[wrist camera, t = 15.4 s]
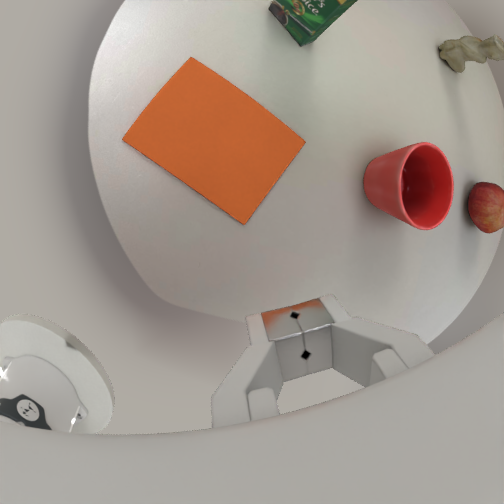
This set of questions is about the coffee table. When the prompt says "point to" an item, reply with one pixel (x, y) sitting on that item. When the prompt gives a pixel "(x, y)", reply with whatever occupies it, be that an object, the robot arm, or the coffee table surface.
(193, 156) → the cloth
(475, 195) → the fruit
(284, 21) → the coffee box
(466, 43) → the sculpture
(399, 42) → the coffee table surface
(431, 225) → the flower pot
